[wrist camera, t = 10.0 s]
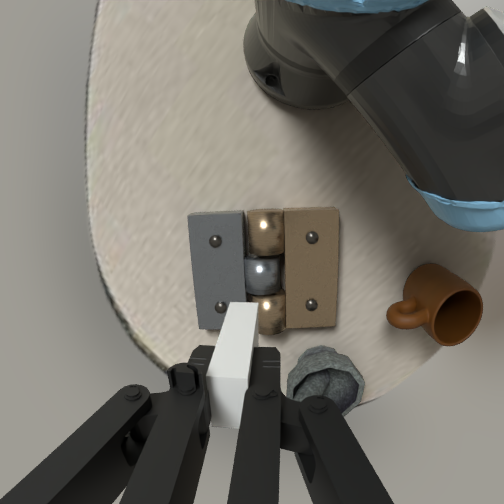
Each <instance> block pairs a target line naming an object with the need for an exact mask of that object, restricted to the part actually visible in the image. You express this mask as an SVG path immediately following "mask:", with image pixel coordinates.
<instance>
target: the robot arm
mask: <svg viewBox="0 0 504 504" xmlns="http://www.w3.org/2000/svg"><path fill="white" fill-rule="evenodd" d="M255 7H256V13H255V14H254V15H253V17H252V18H251V20H250V21H249V23H248V25H247V28H246V31H245V35H244V43H243V47H244V55H245V60H246V63H247V66H248V69H249V71H250V73H251V75H252V77H253V78H254V80H255V81H256V82H257V84H258V85H259V86H260V87H261V88H262V89H263V90H264V91H265V92H266V93H268V94H269V95H270V96H272V97H273V98H275V99H277V100H279V101H280V102H283V103H285V104H287V105H290V106H293V107H297V108H303V109H326V108H331V107H334V106H337V105H340V104H342V103H344V102H346V101H348V100H350V101H351V103H352V104H353V105H354V106H355V107H356V108H357V110H358V111H359V112H360V113H361V114H362V116H363V117H364V118H365V119H366V121H367V122H368V123H369V124H370V126H371V127H372V128H373V129H374V131H375V132H376V133H377V135H378V136H379V137H380V138H381V140H382V141H383V142H384V144H385V145H386V146H387V148H388V149H389V150H390V152H391V153H392V155H393V156H394V157H395V159H396V160H397V162H398V163H399V164H400V166H401V167H402V169H403V170H404V171H405V173H406V178H407V180H408V181H409V183H410V184H411V185H412V187H413V188H414V189H415V190H417V191H418V192H419V193H420V194H421V195H422V197H423V198H424V200H425V201H426V203H427V204H428V205H429V207H430V208H431V210H432V211H433V212H434V214H435V215H436V216H437V217H438V218H439V219H441V220H443V221H444V222H446V223H447V224H448V225H451V226H452V227H454V228H457V229H461V230H465V231H471V232H489V231H497V230H502V229H504V12H503V11H500V10H497V9H493V8H490V7H487V6H486V7H484V8H483V9H481V10H480V11H478V12H476V13H475V14H474V15H472V16H470V17H466V16H465V15H464V14H463V12H461V10H460V9H459V8H458V7H457V6H456V4H455V3H454V2H453V1H452V0H255ZM167 373H168V379H169V384H170V390H169V391H167V392H162V393H152V394H150V392H149V390H148V389H147V388H146V387H144V386H142V385H137V384H135V385H128V386H125V387H123V388H122V389H120V390H119V391H118V392H117V393H116V394H115V395H114V396H113V397H112V398H110V399H109V400H108V401H107V402H106V403H105V404H104V405H103V406H102V407H101V408H100V409H99V410H98V411H96V412H95V413H94V414H93V415H92V416H91V417H90V418H89V419H88V420H87V421H86V422H85V423H83V424H82V425H81V426H80V427H79V428H78V429H77V430H76V431H75V432H74V433H73V434H72V435H70V436H69V437H68V438H67V439H66V440H65V441H64V442H63V443H62V444H61V445H60V446H59V447H57V449H55V450H54V451H53V452H52V453H51V454H50V455H49V456H48V457H47V458H45V459H44V460H43V461H42V462H41V463H40V464H39V465H38V466H37V467H36V468H35V469H33V470H32V471H31V472H30V473H29V474H28V475H27V476H26V477H25V478H24V479H22V480H21V481H20V482H19V483H18V484H17V485H16V486H15V487H14V488H13V489H11V491H9V492H8V493H7V494H6V495H5V496H4V497H3V498H1V499H0V504H112V503H113V502H114V501H115V500H116V498H117V497H118V496H119V495H120V494H121V492H122V491H123V490H124V489H125V487H126V486H127V487H126V489H125V492H124V494H123V496H122V499H121V501H120V503H119V504H193V503H194V499H195V495H196V491H197V486H198V482H199V478H200V474H201V470H202V466H203V462H204V458H205V454H206V450H207V445H208V441H209V437H210V430H209V424H210V421H211V422H212V427H223V428H238V429H239V433H238V440H237V446H236V452H235V459H234V465H233V471H232V477H231V484H230V490H229V495H228V501H227V504H278V502H279V467H280V448H281V449H285V450H289V451H293V452H295V457H296V459H297V462H298V465H299V468H300V470H301V473H302V476H303V478H304V481H305V484H306V486H307V489H308V492H309V494H310V497H311V499H312V502H313V504H394V503H393V501H392V499H391V498H390V496H389V495H388V492H387V491H386V489H385V487H384V486H383V484H382V482H381V481H380V479H379V477H378V475H377V474H376V472H375V470H374V469H373V467H372V465H371V464H370V462H369V460H368V458H367V457H366V455H365V453H364V451H363V450H362V448H361V446H360V445H359V443H358V441H357V439H356V438H355V436H354V434H353V433H352V431H351V429H350V427H349V426H348V424H347V422H346V420H345V419H344V417H343V415H342V414H341V412H340V410H339V408H338V407H337V405H336V403H335V402H334V401H333V400H332V399H330V398H328V397H326V396H322V395H312V396H309V397H306V398H305V399H303V400H302V401H301V402H299V401H295V400H292V399H289V398H288V397H286V396H285V395H284V394H283V393H282V392H281V388H280V352H279V351H278V350H277V348H276V347H258V303H250V302H230V304H229V307H228V310H227V313H226V316H225V319H224V322H223V326H222V329H221V332H220V335H219V338H218V341H217V344H216V346H206V345H199V346H198V347H197V348H196V349H194V350H193V352H192V354H191V356H190V359H189V361H188V363H179V364H175V365H173V366H172V367H170V368H169V369H168V370H167Z"/></svg>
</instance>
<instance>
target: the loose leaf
mask: <svg viewBox="0 0 504 504" xmlns="http://www.w3.org/2000/svg"><path fill="white" fill-rule="evenodd" d="M188 229H189V240H190V251H191V262H192V272H193V281H194V290H195V299H196V308H197V316H198V324H199V329H220V330H221V329H222V326H223V322H224V319H225V316H226V313H227V310H228V307H229V304H230V302H248V293H250V294H254V295H269V294H273V293H276V292H278V291H279V290H280V261H279V255H270V256H259V255H253V254H249V255H245V236H244V216H243V210H239V211H217V212H198V213H191V214H190V215H188Z"/></svg>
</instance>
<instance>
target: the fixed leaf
mask: <svg viewBox="0 0 504 504" xmlns="http://www.w3.org/2000/svg"><path fill="white" fill-rule="evenodd" d="M247 219H248V239H249V253H250V254H253V255H259V256H270V255H277V254H281V253H283V252H284V265H285V290H283V289H281V288H280V290H279V291H278V292H276V293H273V294H269V295H254V294H251V299H252V303H258V333H259V334H263V335H274V334H278V333H281V332H283V331H284V330H285V329H286V328H308V327H327V326H335V321H336V304H337V282H338V245H339V210H338V209H337V208H335V207H311V208H283V210H282V209H256V210H250V211H247Z"/></svg>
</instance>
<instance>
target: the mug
mask: <svg viewBox="0 0 504 504" xmlns="http://www.w3.org/2000/svg"><path fill="white" fill-rule="evenodd" d="M403 300H404V301H400V302H397V303H394V304H392V305H391V306H390V307H389V308H388V310H387V314H386V316H387V320H388V322H389V323H390V324H391V325H392V326H394V327H396V328H399V329H414V328H417V327H419V326H422V327H423V329H424V330H425V331H426V332H427V333H428V334H429V335H430V336H431V337H432V338H433V339H434V340H435V341H436V342H437V343H439V344H440V345H443V346H454V345H457V344H460V343H462V342H463V341H465V340H466V339H467V338H469V337H470V336H471V334H472V333H473V332H474V331H475V329H476V328H477V326H478V324H479V322H480V320H481V317H482V312H483V302H482V298H481V296H480V294H479V292H478V291H477V290H476V289H474V288H473V287H472V286H471V285H470V284H469V283H467V282H466V281H464V280H463V279H461V278H460V277H458V276H457V275H455V274H454V273H452V272H450V271H449V270H447V269H446V268H444V267H442V266H440V265H437V264H425V265H422V266H420V267H418V268H417V269H416V270H414V271H413V272H412V273H411V275H410V276H409V277H408V279H407V281H406V283H405V286H404V290H403Z"/></svg>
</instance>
